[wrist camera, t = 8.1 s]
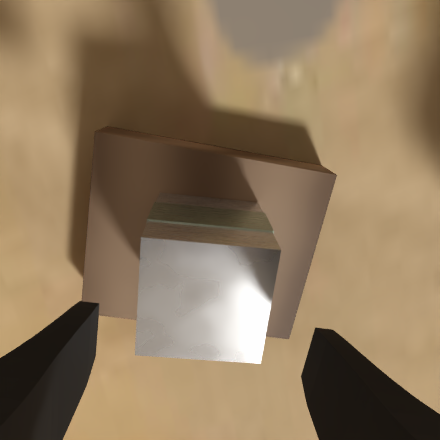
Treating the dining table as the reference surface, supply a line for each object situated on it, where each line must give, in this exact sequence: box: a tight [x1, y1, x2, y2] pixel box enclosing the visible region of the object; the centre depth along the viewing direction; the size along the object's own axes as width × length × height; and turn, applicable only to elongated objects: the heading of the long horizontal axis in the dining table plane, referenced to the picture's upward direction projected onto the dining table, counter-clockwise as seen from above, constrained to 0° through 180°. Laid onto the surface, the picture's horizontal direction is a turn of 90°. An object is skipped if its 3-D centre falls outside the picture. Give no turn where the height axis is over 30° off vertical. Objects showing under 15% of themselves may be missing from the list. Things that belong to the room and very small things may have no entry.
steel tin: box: [135, 193, 281, 364], centre depth 17 cm, size 5×5×6 cm
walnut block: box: [82, 127, 337, 339], centre depth 21 cm, size 12×10×3 cm
